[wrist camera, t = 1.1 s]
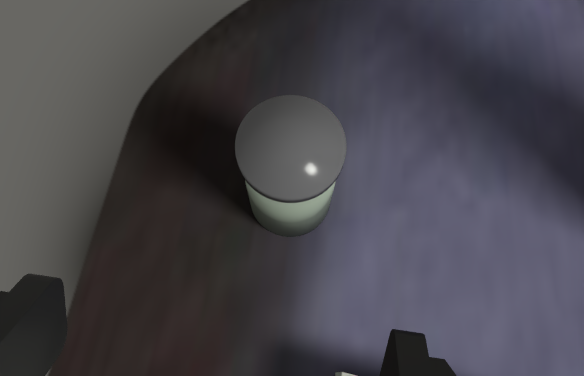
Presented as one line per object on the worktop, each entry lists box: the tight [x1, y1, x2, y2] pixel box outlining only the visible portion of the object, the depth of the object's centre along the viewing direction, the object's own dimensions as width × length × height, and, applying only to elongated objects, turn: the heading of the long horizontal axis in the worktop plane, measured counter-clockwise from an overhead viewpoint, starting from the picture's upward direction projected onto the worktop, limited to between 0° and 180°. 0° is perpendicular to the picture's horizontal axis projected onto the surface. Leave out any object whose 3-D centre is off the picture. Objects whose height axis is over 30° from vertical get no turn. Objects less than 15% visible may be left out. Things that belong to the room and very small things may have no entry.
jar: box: [235, 95, 346, 237], centre depth 36 cm, size 6×6×10 cm
